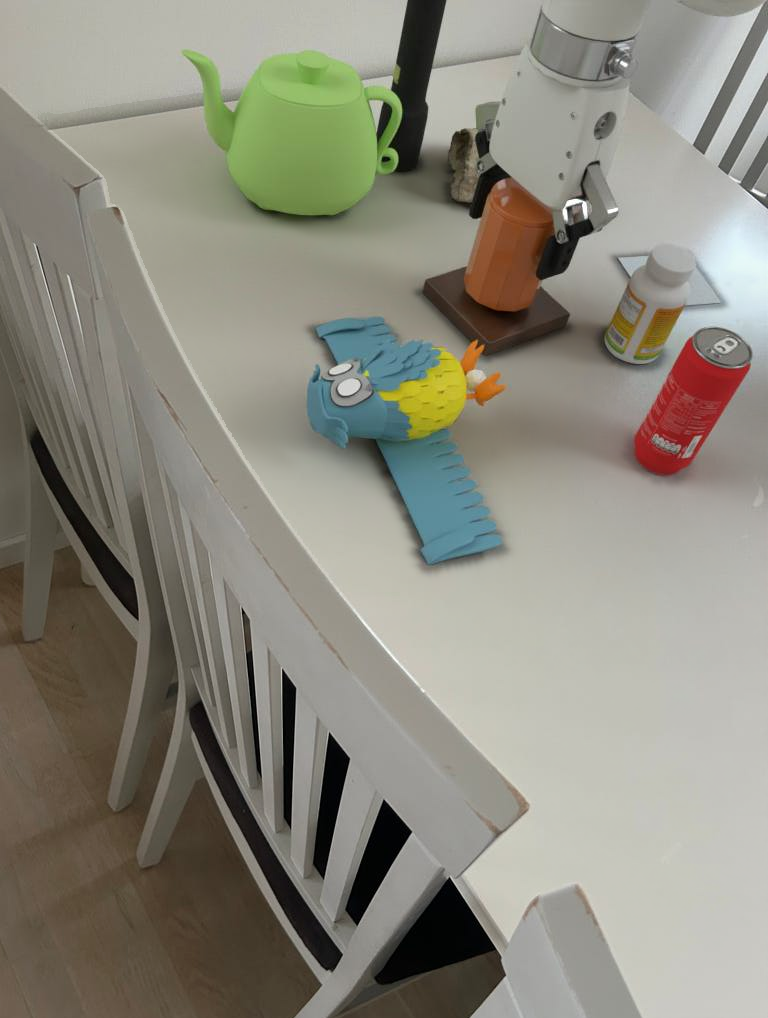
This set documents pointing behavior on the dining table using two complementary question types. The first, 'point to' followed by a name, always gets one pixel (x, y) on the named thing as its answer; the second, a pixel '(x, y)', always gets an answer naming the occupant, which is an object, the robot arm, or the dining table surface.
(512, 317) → the cup stand
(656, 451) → the beverage can
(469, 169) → the mineral specimen
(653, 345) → the supplement bottle
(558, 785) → the dining table surface
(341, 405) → the owl figurine
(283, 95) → the teapot
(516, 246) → the cup
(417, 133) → the flashlight
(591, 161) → the robot arm
